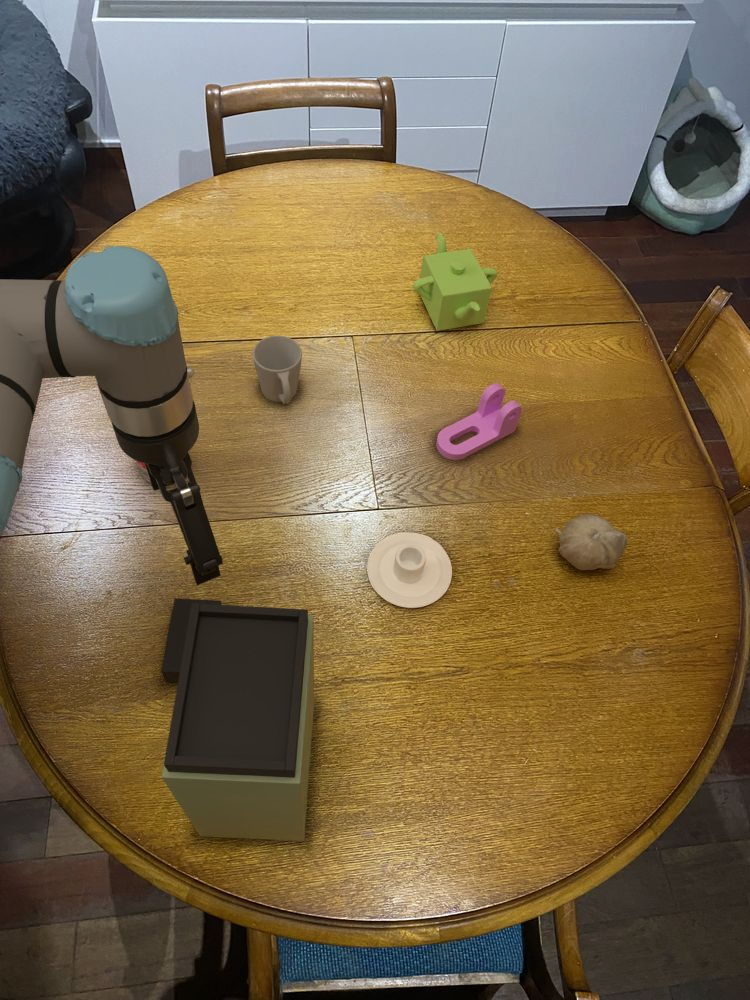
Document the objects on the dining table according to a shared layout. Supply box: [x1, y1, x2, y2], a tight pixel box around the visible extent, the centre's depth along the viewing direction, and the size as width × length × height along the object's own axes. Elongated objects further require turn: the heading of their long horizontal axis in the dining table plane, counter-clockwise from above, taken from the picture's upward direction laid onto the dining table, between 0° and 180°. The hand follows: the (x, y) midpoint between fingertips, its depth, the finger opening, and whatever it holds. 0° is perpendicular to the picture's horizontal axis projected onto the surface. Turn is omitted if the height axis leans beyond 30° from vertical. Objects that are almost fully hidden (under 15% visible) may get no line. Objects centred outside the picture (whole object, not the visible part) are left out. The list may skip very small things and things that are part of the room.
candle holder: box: [366, 531, 453, 609], centre depth 109 cm, size 12×12×4 cm
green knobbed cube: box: [412, 232, 499, 332], centre depth 136 cm, size 15×13×11 cm
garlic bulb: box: [554, 513, 629, 571], centre depth 110 cm, size 9×8×10 cm
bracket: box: [435, 382, 523, 461], centre depth 122 cm, size 13×6×7 cm, turn 124°
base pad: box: [163, 603, 309, 778], centre depth 71 cm, size 11×15×2 cm
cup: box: [252, 335, 303, 405], centre depth 124 cm, size 8×10×8 cm
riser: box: [161, 615, 315, 842], centre depth 84 cm, size 12×16×27 cm
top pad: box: [160, 597, 223, 684], centre depth 101 cm, size 10×6×4 cm, turn 178°
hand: (185, 529), depth 88 cm, fingers open, 13 cm apart
